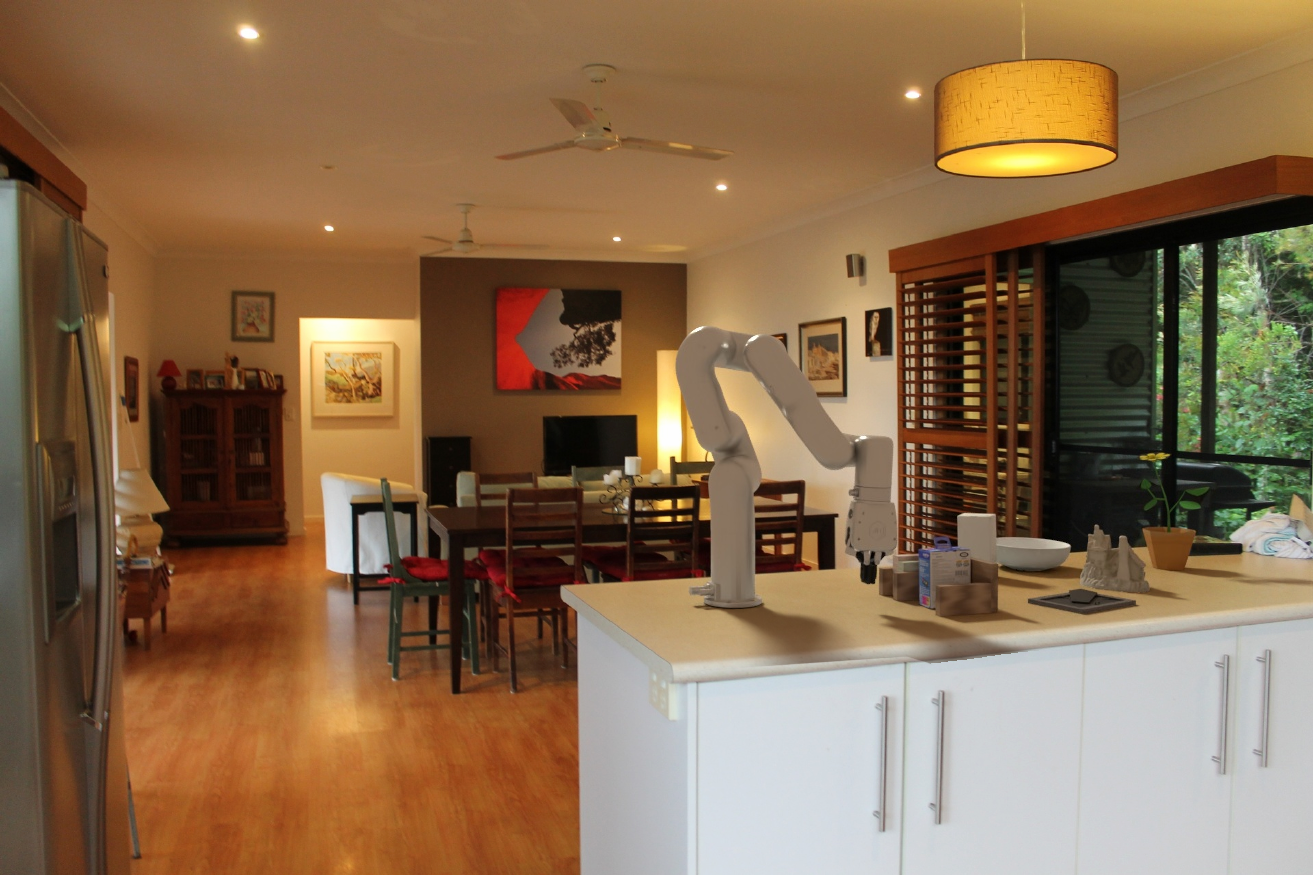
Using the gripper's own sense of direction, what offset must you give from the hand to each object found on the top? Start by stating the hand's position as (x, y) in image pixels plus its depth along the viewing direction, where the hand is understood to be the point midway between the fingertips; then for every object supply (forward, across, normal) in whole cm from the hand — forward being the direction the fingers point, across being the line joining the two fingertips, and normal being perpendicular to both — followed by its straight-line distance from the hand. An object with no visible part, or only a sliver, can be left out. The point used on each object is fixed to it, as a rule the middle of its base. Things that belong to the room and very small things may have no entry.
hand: (867, 582), depth 205 cm
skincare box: (+5, +46, +28) cm, 54 cm away
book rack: (+5, +18, +2) cm, 19 cm away
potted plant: (+3, +101, +24) cm, 104 cm away
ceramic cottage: (+4, +70, +8) cm, 71 cm away
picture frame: (+5, +47, -8) cm, 48 cm away
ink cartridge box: (+5, +18, -1) cm, 19 cm away
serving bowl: (+4, +66, +35) cm, 75 cm away
